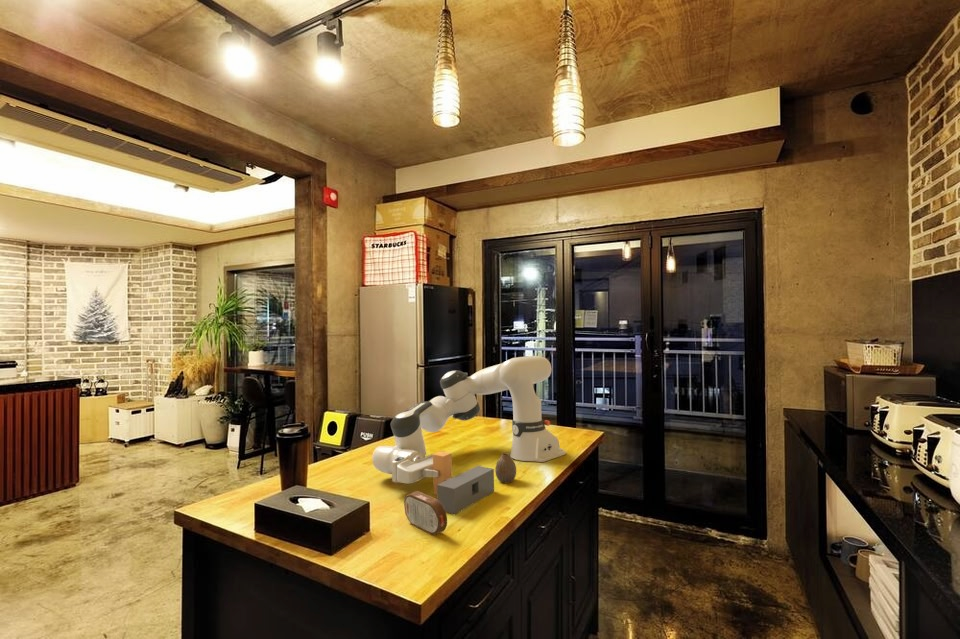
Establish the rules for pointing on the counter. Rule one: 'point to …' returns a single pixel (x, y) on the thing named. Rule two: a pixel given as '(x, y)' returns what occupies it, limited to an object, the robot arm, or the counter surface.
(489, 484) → the block
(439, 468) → the plug
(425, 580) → the counter surface
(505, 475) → the vase
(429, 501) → the tin
